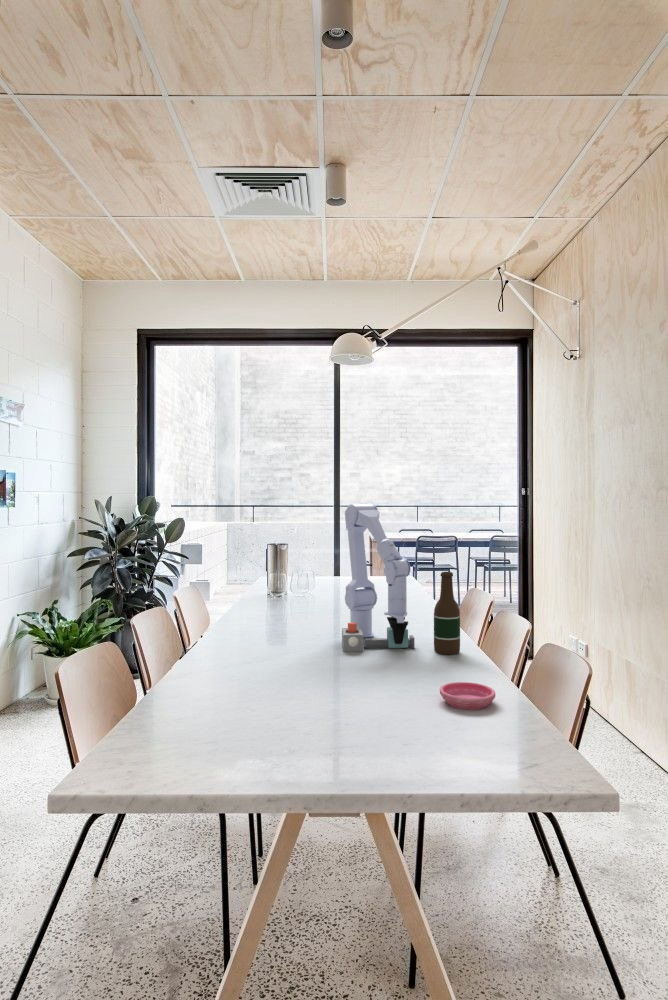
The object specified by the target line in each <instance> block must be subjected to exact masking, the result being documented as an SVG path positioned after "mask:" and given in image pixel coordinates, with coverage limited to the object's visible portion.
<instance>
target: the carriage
mask: <svg viewBox="0 0 668 1000" xmlns="http://www.w3.org/2000/svg"><path fill="white" fill-rule="evenodd" d="M386 638H388V648H387V649H400V648H401V649H402V648H405V649H407V648H408V638H409V629H408V628H407V627H406V629H405V632H404V637H403V642H402V644H395V641H394V635H393V630H392V627H390V626H387V627H386ZM408 649H409V648H408Z"/></svg>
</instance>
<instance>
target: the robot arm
mask: <svg viewBox="0 0 668 1000" xmlns="http://www.w3.org/2000/svg"><path fill="white" fill-rule="evenodd" d="M344 517H345V527H346V528H345V529H346V530H347V538H348V549H349V558H350V561H349V562H350V569H351V570H350V571H351V580H350V582H349V583H347V585H346V586H345V595H344V601H345V606H346V607H347V608H348V609H349V610H350V616H349V617H350V619H349V620H350V621H349V623H351V622H354V623H357V628H361V630H362V633H363V638H374V637H375V635H374V633H373V617H372V616H373V614H372V613H373V609H374V606H375V605H377V601H378V595H377V592H376V589H375V583H373V582H372V581H371V580H369V578H368V577H369V576H368V567H367V557H366V545H365V535H364V534H365V533H364V532H365V531H366V530H368V531H369V533H370V534H371V536H372V537H373V539H374V541H375V542H376V544H377V545H376V551H377V554H378V555H379V557H380V559H381V561H382V563H383V564H384V567H383V572H384V575H385V579H386V583H387V611H384V612H383V613H384V616H386V619H387V621H388V623H389V627H392V630H393V635H394V641H395V644H402V642H403V637H404V632H405V629H406V628H407V627H408V625H409V621H407V620H406V621H405V619H406V617H407V616H408V612H407V609H408V608H407V577H408V576H409V575H410V573H411V564H410V562H409V560H408V559H407V558H404V557H403V556H402V555H401V554H400V552H399V551H398V548H397V547H396V545H395V543H394V541H393V540H391V539H388V537H387V535H386V533H385V530H384V528H383V526H382V524H381V521H380V511H379V509H378V507H377V505H376V504H374V503H368V504H367V503H366V504H365V503H364V504H352V503H351V504H349V505H348V506H347V508H346V509H345V511H344ZM359 588H360V589H359Z"/></svg>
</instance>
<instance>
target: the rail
mask: <svg viewBox="0 0 668 1000" xmlns="http://www.w3.org/2000/svg"><path fill="white" fill-rule="evenodd" d="M364 648H365V649H389V648H388V638H387V637H385V638H383V637H382V638H376V637H375V638H374V637H372V638H364ZM409 648H410V649H415V637H414V635H413V634H408V649H409Z"/></svg>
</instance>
